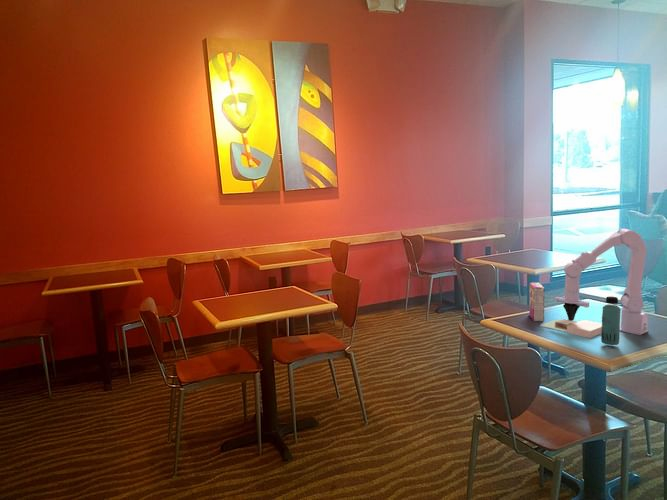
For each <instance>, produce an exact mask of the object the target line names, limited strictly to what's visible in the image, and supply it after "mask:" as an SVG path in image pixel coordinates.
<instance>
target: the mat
mask: <svg viewBox="0 0 667 500" xmlns="http://www.w3.org/2000/svg"><path fill="white" fill-rule="evenodd" d="M559 320H560V319H553V320H551V321H548V322H545V323H541V324H539V327H543V328H545V329H550V330H555V331H558V332H563V333H567V329H565V328H561V327H556V326H555V322H556V321H559Z"/></svg>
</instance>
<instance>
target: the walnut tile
mask: <svg viewBox="0 0 667 500" xmlns="http://www.w3.org/2000/svg"><path fill="white" fill-rule="evenodd" d="M558 320H559V321H556V322H555V326H556V327H561V328H565V329H567V326H568V325H571V324H574V323H577V322H578V321H575V320H573V321H570V320H568V319H567V318H562V319H558Z"/></svg>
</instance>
